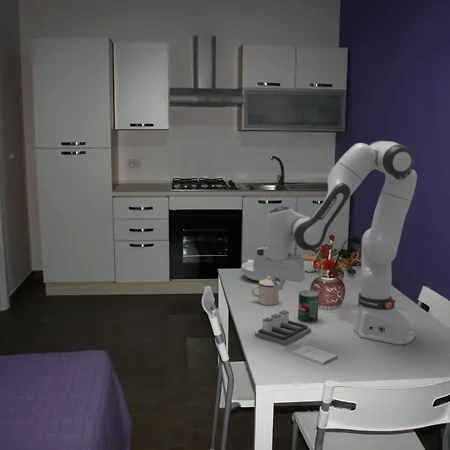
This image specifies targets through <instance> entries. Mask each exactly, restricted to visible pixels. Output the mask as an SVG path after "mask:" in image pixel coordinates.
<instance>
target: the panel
mask: <svg viewBox="0 0 450 450" xmlns="http://www.w3.org/2000/svg"><path fill="white" fill-rule="evenodd" d="M311 332H312V328H311V327H309V326H308V325H307V324H302V323H299V322H296V321H291V320H289V322H288V324H283V323H281V327H280V328H275V327H272V332H266V331H263V330H262V328H260V329H258V331H256V332H254V337H255V338H258V339H261V340H264V341H268V342H271V343H274V344H277V345H281V346H284V347H285V346H288V345H289V344H291V343H293V342H295V341H298V339H300V338H303V337H304V336H306V335H308V334H309V333H311Z"/></svg>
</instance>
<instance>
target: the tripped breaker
mask: <svg viewBox="0 0 450 450" xmlns="http://www.w3.org/2000/svg"><path fill="white" fill-rule="evenodd" d="M261 322H262V325H261V326H262V327H261V329H262V330H263V331H266V332H272V322H273V319H271V317H268V316H267V317H265V318H263V319H262V321H261Z"/></svg>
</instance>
